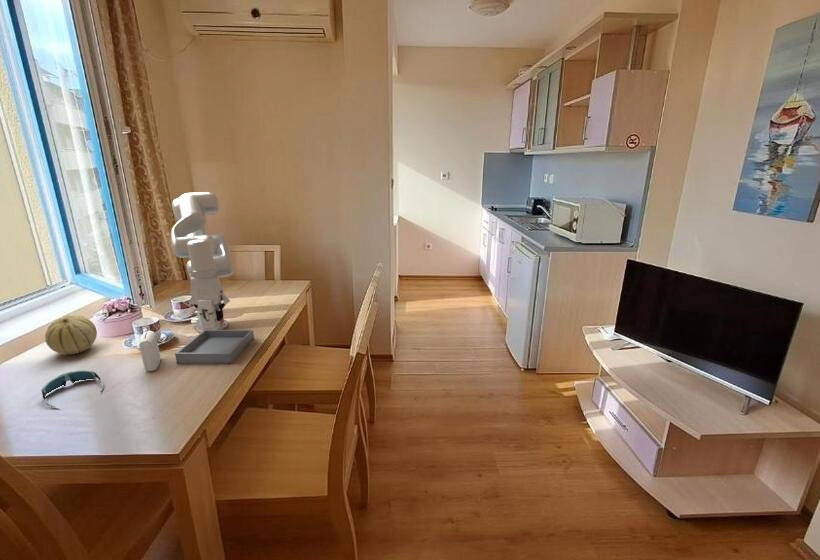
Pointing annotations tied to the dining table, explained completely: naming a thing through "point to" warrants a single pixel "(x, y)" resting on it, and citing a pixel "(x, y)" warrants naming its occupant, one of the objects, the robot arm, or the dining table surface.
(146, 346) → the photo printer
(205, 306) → the ink box
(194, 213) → the robot arm
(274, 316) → the dining table surface
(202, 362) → the tray
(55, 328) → the cantaloupe
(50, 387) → the sunglasses
